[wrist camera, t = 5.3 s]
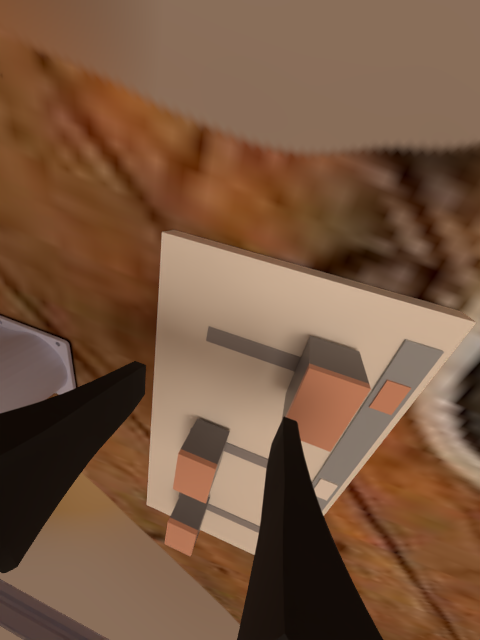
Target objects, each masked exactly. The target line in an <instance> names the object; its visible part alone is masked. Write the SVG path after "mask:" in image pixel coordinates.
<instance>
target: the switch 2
mask: <svg viewBox="0 0 480 640" xmlns="http://www.w3.org/2000/svg"><path fill="white" fill-rule="evenodd" d="M370 390H371V388H370V384H369V381H368V378H367V375H366V371H365V368H364V365H363V361H362V358H361V355H360V352H359V351H357V350H354V349H351V348H348V347H344V346H341V345H338V344H335V343H332V342H329V341H326V340H323V339H320V338H317V337H314V336H310V337H309V339H308V342H307V344H306V346H305V349H304V351H303V354H302V356H301V358H300V361H299V363H298V365H297V368H296V370H295V373H294V375H293V377H292V380H291V382H290V384H289V387H288V389H287V392H286V395H285V402H284V408H283V415H282V419H283V417H287V418H290V419H292V420H295V421H297V423H298V428H299V434H300V439H301V441H303V442H306V443H308V444H311V445H313V446H316V447H319V448H321V449H324V450H326V451H329V452H331V450H332V449H333V447H334V446H335V444H336V443H337V441H338V439H339V438H340V436H341V435H342V433H343V432H344V430H345V429H346V427H347V426H348V424H349V422H350V421H351V419H352V418H353V416H354V415H355V413H356V412H357V410H358V409H359V407H360V405H361V404H362V402H363V401H364V399H365V398H366V396H367V395H368V393H369V391H370Z"/></svg>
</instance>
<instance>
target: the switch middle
mask: <svg viewBox="0 0 480 640" xmlns="http://www.w3.org/2000/svg"><path fill="white" fill-rule="evenodd" d="M229 432H230V431H228V430H225V429H223V428H220V427H218V426H215V425H213V424H210V423H208V422H205V421H203V420H200V419H198V418H197V420H196V422H195V423H194V425H193V427H192V429H191V431H190V433H189V434H188V436H187V438H186V440H185V442H184V444H183V446H182V447H181V449H180V451H179V453H178V458H177V464H176V471H175V478H174V484H173V489H174V490H176V491H178V492H180V493H183V494H185V495H187V496H189V497H192V498H194V499H196V500H198V501H201V502H203V503H205V504H206V502H207V499H208V496H209V493H210V491H211V488H212V485H213V482H214V480H215V477H216V474H217V471H218V468H219V466H220V462H221V459H222V456H223V452H224V449H225V446H226V442H227V439H228V436H229Z"/></svg>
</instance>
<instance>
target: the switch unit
mask: <svg viewBox="0 0 480 640" xmlns="http://www.w3.org/2000/svg"><path fill="white" fill-rule="evenodd" d="M475 323H476V322H475V321H474V320H472V319H471V318H470V317H468V316H467V315H465V314H464V313H463V312H461V311H459V310H455V309H452V308H448V307H444V306H441V305H437V304H434V303H430V302H427V301H423V300H420V299H416V298H413V297H409V296H406V295H402V294H399V293H395V292H392V291H388V290H385V289H381V288H378V287H374V286H371V285H367V284H364V283H360V282H356V281H353V280H349V279H346V278H342V277H339V276H335V275H332V274H328V273H325V272H321V271H318V270H314V269H311V268H307V267H304V266H300V265H297V264H293V263H290V262H286V261H283V260H279V259H276V258H272V257H268V256H265V255H261V254H258V253H254V252H251V251H247V250H244V249H240V248H237V247H233V246H230V245H226V244H223V243H219V242H216V241H212V240H209V239H205V238H202V237H198V236H195V235H191V234H188V233H184V232H180V231H177V230H170V231H165V232H162V242H161V260H160V278H159V295H158V313H157V331H156V348H155V366H154V384H153V402H152V419H151V437H150V455H149V472H148V490H147V505H148V506H150V507H152V508H155V509H157V510H159V511H161V512H163V513H165V514H167V515H170V516H171V514H172V512H173V510H174V507H175V505H176V503H177V501H178V499H179V497H180V494H181V493H180V492H178V491H176V490H174V489H173V484H174V478H175V471H176V464H177V458H178V453H179V451H180V449H181V447H182V446H183V444H184V442H185V440H186V438H187V436H188V434H189V433H190V431H191V429H192V427H193V425H194V423H195V422H196V420H197V418H198V419H200V420H203V421H205V422H208V423H210V424H213V425H215V426H218V427H220V428H223V429H225V430H228V431H230V432H229V436H228V439H227V442H226V446H225V449H224V452H223V456H222V459H221V462H220V466H219V468H218V471H217V474H216V477H215V480H214V482H213V485H212V488H211V491H210V493H209V496H208V497H210V499H209V503H208V506H207V509H206V513H205V516H204V520H203V522H202V525H201V528H200V530H202V531H204V532H206V533H208V534H210V535H213V536H215V537H217V538H219V539H221V540H223V541H225V542H228V543H230V544H232V545H234V546H236V547H238V548H241V549H243V550H245V551H247V552H249V553H251V554H253V555H255V551H256V545H257V540H258V535H259V529H260V522H261V513H262V504H263V495H264V486H265V477H266V469H267V463H268V458H269V453H270V449H271V444H272V442H273V439H274V437H275V435H276V432H277V430H278V428H279V426H280V423H281V421H282V415H283V408H284V402H285V395H286V392H287V389H288V387H289V384H290V382H291V380H292V377H293V375H294V373H295V370H296V368H297V365H298V363H299V361H300V358H301V356H302V354H303V351H304V349H305V346H306V344H307V342H308V339H309V337H310V336H314V337H317V338H320V339H323V340H326V341H329V342H332V343H335V344H338V345H341V346H344V347H348V348H351V349H354V350H357V351H359V352H360V355H361V358H362V361H363V365H364V368H365V371H366V375H367V378H368V381H369V384H370V388H371V390H370V391H369V393H368V395H367V396H366V398H365V399H364V401H363V402H362V404H361V405H360V407H359V409H358V410H357V412H356V413H355V415H354V416H353V418H352V419H351V421H350V422H349V424H348V426H347V427H346V429H345V430H344V432H343V433H342V435H341V436H340V438H339V439H338V441H337V443H336V444H335V446H334V447H333V449H332V450H331V452H329V451H326V450H324V449H321V448H319V447H316V446H313V445H311V444H308V443H306V442H303V441H301V444H302V448H303V452H304V456H305V460H306V464H307V467H308V471H309V475H310V478H311V481H312V484H313V488H314V491H315V494H316V497H317V500H318V502H319V505H320V508H321V511H322V513H323V516H324V515H325V514H326V512H327V511H328V510H329V509H330V507H331V506H332V505H333V503H334V502H335V501H336V500H337V498H338V497H339V496H340V495H341V493H342V492H343V491H344V490H345V488H346V487H347V486H348V484H349V483H350V482H351V481H352V479H353V478H354V477H355V476H356V474H357V473H358V472H359V470H360V469H361V468H362V467H363V465H364V464H365V463H366V462H367V460H368V459H369V458H370V457H371V455H372V454H373V453H374V451H375V450H376V449H377V448H378V446H379V445H380V444H381V443H382V441H383V440H384V439H385V438H386V436H387V435H388V434H389V432H390V431H391V430H392V429H393V427H394V426H395V425H396V424H397V422H398V421H399V420H400V419H401V417H402V416H403V415H404V413H405V412H406V411H407V410H408V408H409V407H410V406H411V405H412V403H413V402H414V401H415V400H416V398H417V397H418V396H419V394H420V393H421V392H422V391H423V389H424V388H425V387H426V386H427V384H428V383H429V382H430V381H431V379H432V378H433V377H434V375H435V374H436V373H437V372H438V370H439V369H440V368H441V367H442V365H443V364H444V363H445V361H446V360H447V359H448V358H449V356H450V355H451V354H452V353H453V351H454V350H455V349H456V348H457V346H458V345H459V344H460V342H461V341H462V340H463V339H464V337H465V336H466V335H467V334H468V332H469V331H470V330H471V329H472V327H473V326H474V325H475Z"/></svg>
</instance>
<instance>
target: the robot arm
mask: <svg viewBox="0 0 480 640" xmlns="http://www.w3.org/2000/svg"><path fill="white" fill-rule="evenodd" d="M145 373H146V365H144V364H142V363H139V362H136V361H134V362H132V363H130V364H128V365H126V366H124V367H121V368H119V369H117V370H115V371H113V372H111V373H109V374H107V375H105V376H102V377H100V378H98V379H96V380H94V381H92V382H89V383H87V384H85V385H82V386H80V387H77V388H76V384H75V378H74V371H73V364H72V358H71V351H70V345H69V343H68V342H67V341H66V340H64V339H61V338H58V337H56V336H53V335H51V334H48V333H45V332H43V331H40V330H37V329H35V328H32V327H29V326H27V325H24V324H22V323H19V322H16V321H14V320H11V319H8V318H6V317H3V316H0V572H1V573H6V572H8V571H10V570H13V569H14V568H16V567H18V565H19V563H20V562H21V560H22V558H23V557H24V555H25V554H26V552H27V551H28V549H29V547H30V546H31V544H32V543H33V541H34V540H35V538H36V537H37V535H38V534H39V532H40V531H41V529H42V527H43V526H44V524H45V523H46V522H47V520H48V519H49V517H50V516H51V514H52V513H53V511H54V510H55V508H56V507H57V505H58V504H59V502H60V501H61V500H62V498H63V497H64V495H65V494H66V493H67V491H68V490H69V488H70V487H71V486H72V484H73V483H74V481H75V480H76V479H77V477H78V476H79V474H80V473H81V472H82V471H83V469H84V468H85V467H86V465H87V464H88V463H89V461H90V460H91V459H92V457H93V456H94V455H95V454H96V453H97V451H98V450H99V449H100V448H101V447H102V446H103V444H104V443H105V442H106V441H107V440H108V439H109V438H110V437H111V436H112V434H113V433H114V432H115V431H116V430H117V429H118V428H119V427H120V425H121V424H122V423H123V422H124V421H125V420H126V419H127V417H128V416H129V415H130V414H131V413H132V412H133V410H134V409H135V408H136V406H137V405H138V403H139V402H140V400H141V399H142V397H143V396H144V394H145ZM54 393H57V394H59V395H57V396H55V397H52V398H49V397H50V396H51V395H53V394H54ZM47 398H49V399H47ZM0 626H1V627H3V628H5V629H6V630H8V631H10V632H12V633H13V634H15V635H16V636H18V637H20V638H21V639H24V640H109V639H107V638H106V637H104V636H102V635H100V634H98V633H96V632H95V631H93V630H91V629H89V628H88V627H86V626H84V625H82V624H80V623H78V622H77V621H75V620H73V619H71V618H69V617H68V616H66V615H64V614H62V613H60V612H58V611H57V610H55V609H53V608H51V607H50V606H47V605H46V604H44V603H42V602H41V601H39V600H37V599H35V598H33V597H32V596H30V595H28V594H26V593H24V592H22V591H21V590H19V589H17V588H15V587H14V586H12V585H10V584H8V583H6V582H5V581H3V580H1V579H0ZM237 640H383V639H382V637H381V635H380V633H379V631H378V630H377V628H376V626H375V624H374V622H373V620H372V618H371V617H370V615H369V613H368V611H367V609H366V607H365V605H364V603H363V601H362V599H361V597H360V595H359V593H358V591H357V589H356V587H355V586H354V584H353V582H352V579H351V577H350V575H349V573H348V571H347V569H346V567H345V564H344V562H343V560H342V558H341V556H340V554H339V552H338V549H337V547H336V545H335V543H334V540H333V538H332V536H331V533H330V531H329V529H328V526H327V524H326V521H325V518H324V516H323V513H322V511H321V508H320V505H319V502H318V500H317V497H316V494H315V491H314V488H313V484H312V481H311V478H310V475H309V471H308V467H307V464H306V460H305V456H304V452H303V448H302V444H301V439H300V434H299V428H298V423H297V421H295V420H292V419H290V418H287V417H283V419H282V421H281V423H280V426H279V428H278V430H277V432H276V435H275V437H274V439H273V442H272V444H271V449H270V453H269V458H268V463H267V469H266V477H265V486H264V495H263V504H262V513H261V522H260V529H259V535H258V540H257V545H256V551H255V556H254V561H253V566H252V571H251V576H250V581H249V586H248V591H247V596H246V600H245V605H244V610H243V615H242V619H241V624H240V629H239V633H238V638H237Z"/></svg>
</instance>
